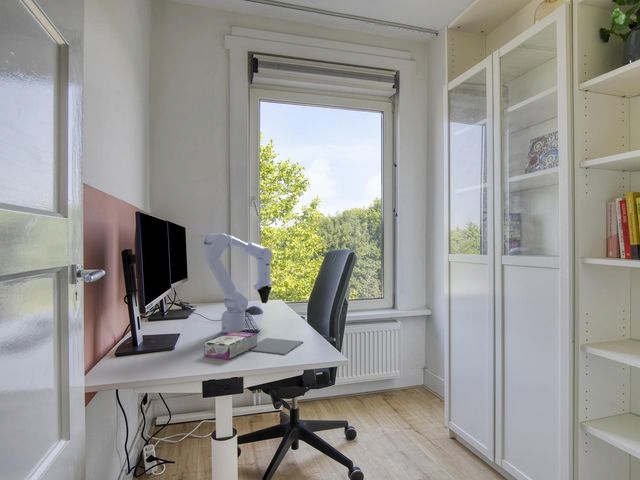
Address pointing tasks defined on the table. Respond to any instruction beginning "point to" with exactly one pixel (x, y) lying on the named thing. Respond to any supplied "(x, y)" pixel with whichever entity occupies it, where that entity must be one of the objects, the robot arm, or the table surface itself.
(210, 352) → the candy bar box
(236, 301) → the robot arm
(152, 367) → the table surface
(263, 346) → the charcoal mat
